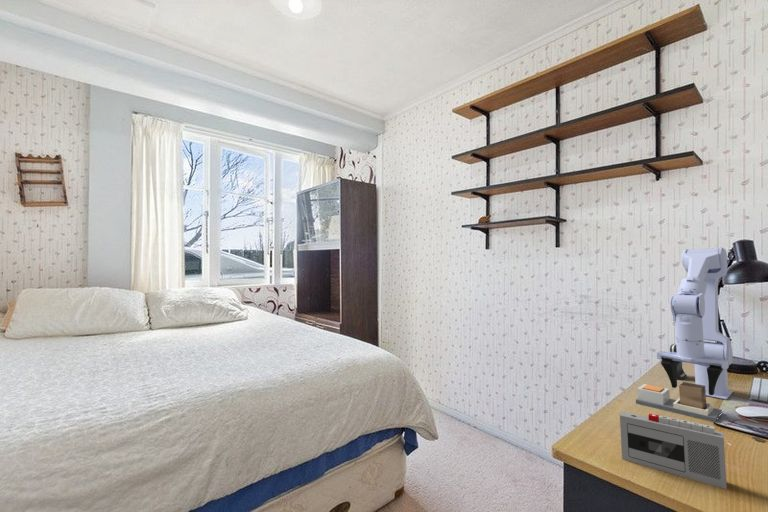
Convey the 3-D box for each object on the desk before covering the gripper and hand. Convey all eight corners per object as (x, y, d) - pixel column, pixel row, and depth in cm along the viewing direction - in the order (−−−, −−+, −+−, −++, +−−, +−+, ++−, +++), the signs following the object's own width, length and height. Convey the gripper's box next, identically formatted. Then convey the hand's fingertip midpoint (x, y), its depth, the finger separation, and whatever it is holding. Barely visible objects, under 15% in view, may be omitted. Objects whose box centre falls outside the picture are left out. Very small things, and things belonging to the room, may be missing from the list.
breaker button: (647, 394, 105) (647, 384, 106) (664, 398, 102) (663, 387, 102) (643, 398, 103) (642, 387, 103) (660, 401, 100) (659, 391, 100)
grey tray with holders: (645, 396, 108) (644, 383, 108) (722, 413, 94) (721, 398, 94) (635, 403, 103) (635, 389, 103) (715, 422, 89) (714, 406, 89)
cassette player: (622, 459, 74) (619, 410, 74) (624, 454, 76) (622, 406, 76) (726, 489, 63) (723, 432, 64) (726, 482, 65) (723, 427, 66)
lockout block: (685, 403, 99) (683, 381, 99) (706, 408, 95) (705, 385, 95) (680, 408, 96) (679, 385, 96) (702, 413, 92) (700, 389, 93)
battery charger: (685, 381, 120) (683, 347, 121) (671, 378, 123) (669, 345, 124) (690, 377, 124) (688, 343, 125) (676, 374, 127) (674, 342, 128)
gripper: (652, 337, 100) (654, 387, 99) (723, 345, 88) (726, 401, 88) (660, 334, 104) (662, 381, 103) (728, 341, 92) (732, 394, 92)
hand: (692, 390), depth 96 cm, fingers open, 7 cm apart
